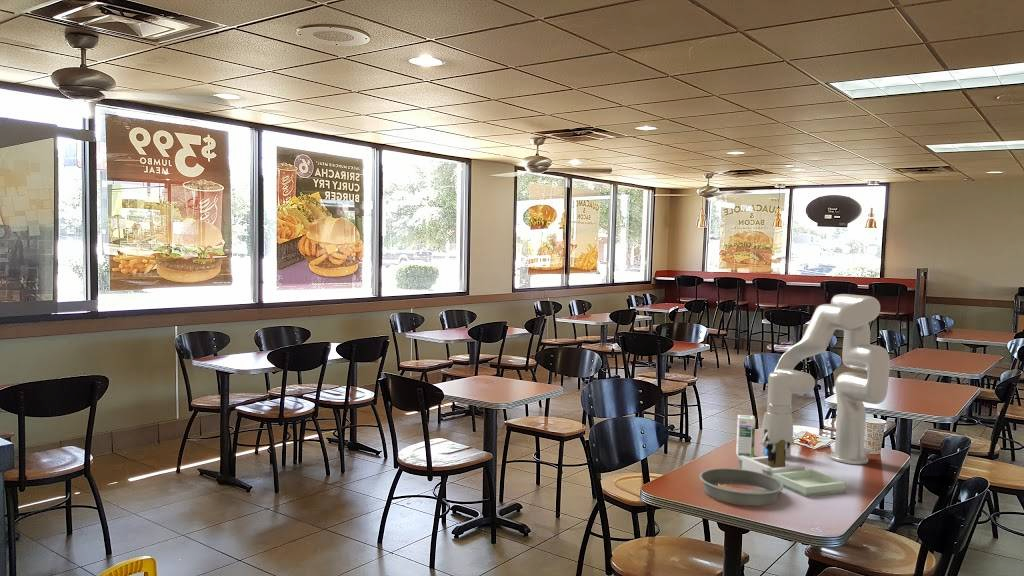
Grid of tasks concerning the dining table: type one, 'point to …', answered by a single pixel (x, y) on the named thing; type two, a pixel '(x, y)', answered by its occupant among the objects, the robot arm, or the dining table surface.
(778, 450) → the cork
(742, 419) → the syrup box
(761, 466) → the dock
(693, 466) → the dining table surface
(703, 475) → the cake pan
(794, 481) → the tray
